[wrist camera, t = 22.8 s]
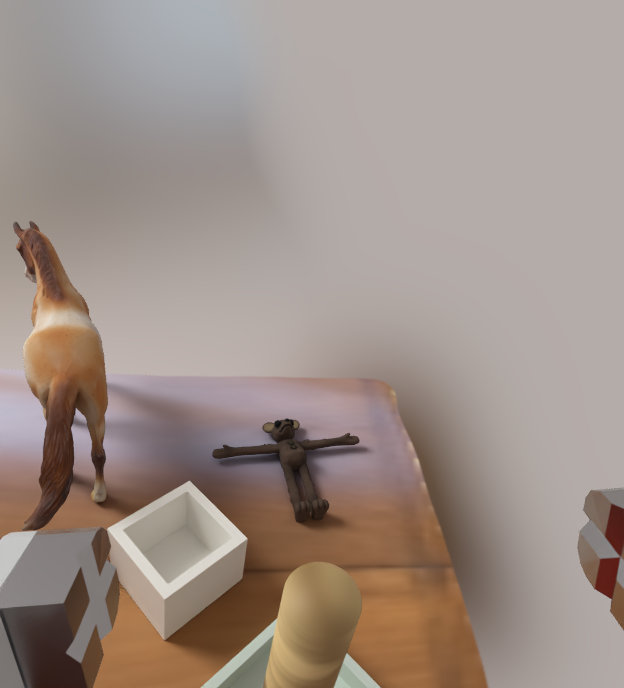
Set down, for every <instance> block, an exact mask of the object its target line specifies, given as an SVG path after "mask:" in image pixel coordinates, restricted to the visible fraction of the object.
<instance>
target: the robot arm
mask: <svg viewBox="0 0 624 688" xmlns="http://www.w3.org/2000/svg"><path fill="white" fill-rule="evenodd" d="M583 510H584V512H585V513H586V515H587V516H588V517H589V519H590V521H589V522H588V523H587V524H586V525H585V526H584V527H583V528H582V529H581V530H580V533H579V541H578V552H579V558H580V563H581V566H582V568H583V571H584V573H585V575H586V577H587V579H588V580H589V581H590V583H591V584H592V586H593V587H594V589H596V590H597V591H599V592H600V593H602V594H604V595H606V596H607V597H609V598H611V599H612V601H611V610H610V611H611V613H612V614H613V616H614V617H615V619H616V620H617V621H618V623H619V624H620V626H621V627H622V628H623V630H624V488H614V489H602V490H591V491H590V492H589V494H588V495H587V497H586V499H585V504H584V509H583ZM110 549H111V543H110V540H109V536H108V532H107V530H105V529H104V528H102V527H96V528H77V529H58V530H42V531H29V532H13V533H9V534H7V535H6V536H4V537H2V539H1V540H0V688H93V685H94V682H95V679H96V676H97V673H98V670H99V667H100V664H101V661H102V658H103V655H104V654H103V650H102V646H101V642H100V640H101V639H102V638H104V637H105V636H106V635H107V634H108V633H109V632H110V631H111V630H112V628H113V625H114V622H115V619H116V615H117V611H118V603H119V595H120V593H119V579H118V574H117V569H116V567H114V566H113V565H112V564H111V563H110V562H109V561H107V560H106V559H107V557H108V554H109V552H110Z"/></svg>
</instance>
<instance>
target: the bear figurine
mask: <svg viewBox="0 0 624 688" xmlns="http://www.w3.org/2000/svg"><path fill="white" fill-rule="evenodd" d="M298 428H299V422H298V421H296V420H291V419H290V420H289V419H285V420H280V421H279V420H277V421H275V423H270V422H268V423H265V424H264V425H263V430H264V431H265V432H266V433H272V436H273V438H274V440H275V441H276V442H278V444H267V445H265V444H264V445H261V446H251V447H237V448H234V447H229V446H227V445H223V447H224V448H222V449H215V450H214V451H213V457H214V458H217V459H221V458H227V457H233V456H240V455H256V454H272V453H278V454H279V457H280V462H281V466H282V468H283V471H284V474H285V478H286V482H287V485H288V492H289V493H290V500H291V502H292V504H293V507H294V511H295V519H296V522H304V521H306V520H307V517H308V515H309V513H310V511H311V515H312V518H313V519H314V520H318V519H322V518H323V516H324V514H325V513H326V512H327V510H328V508H329V503H328V501H327V500H325V499H324V500H322V499H318V497H317V495H316V493H315V489H314V484H313V482H312V480H311V477H310V474H309V470H308V467H307V464H306V453H305V450H313V449H317V448H324V447H330V446H340V445H355V444H358V443H359V438H358V437H357V436H350V433H347V434H345V435H344V436H342V437H339V438H332V439H322V440H311V441H309V440H308V439H307V440H304V441H303V442H299V441H298V440H292V439H293V438H294V435H295V430H297V429H298ZM297 470H299V471H300V474H301V478H302V481H303V484H304V488H305V491H306V495H307V498H308V501H301V498H300V494H299V490H298V488H297V484H296V481H295V477H294V474H293V471H297Z"/></svg>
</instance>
